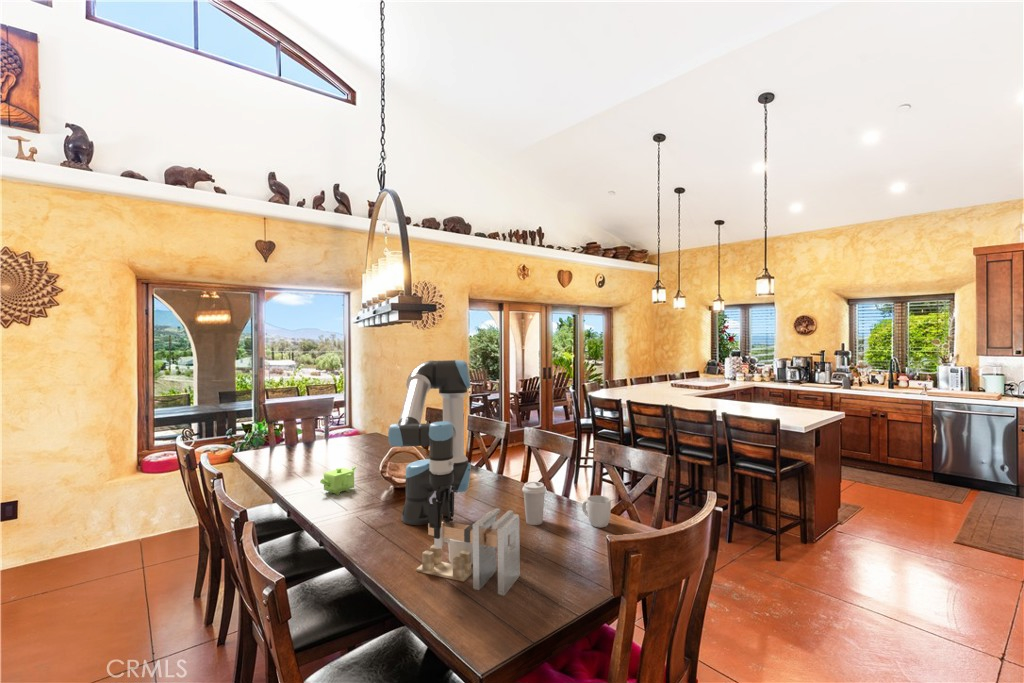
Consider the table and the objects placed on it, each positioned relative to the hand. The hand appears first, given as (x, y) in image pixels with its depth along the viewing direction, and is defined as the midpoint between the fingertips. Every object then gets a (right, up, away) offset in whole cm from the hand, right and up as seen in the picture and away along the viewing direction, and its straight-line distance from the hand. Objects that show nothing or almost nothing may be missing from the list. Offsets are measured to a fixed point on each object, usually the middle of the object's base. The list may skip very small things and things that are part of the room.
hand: (442, 544), depth 149 cm
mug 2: (+55, -8, +37) cm, 67 cm away
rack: (+1, -8, 0) cm, 8 cm away
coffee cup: (+31, -8, +39) cm, 50 cm away
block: (+7, +5, -3) cm, 9 cm away
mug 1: (+7, -8, +9) cm, 14 cm away
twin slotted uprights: (+18, -8, -7) cm, 21 cm away
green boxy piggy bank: (-61, -8, +78) cm, 99 cm away
